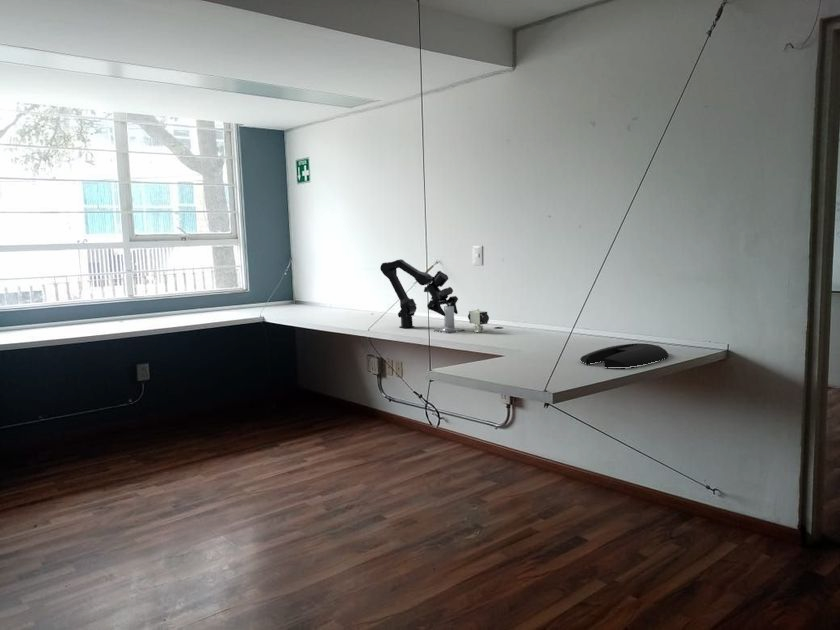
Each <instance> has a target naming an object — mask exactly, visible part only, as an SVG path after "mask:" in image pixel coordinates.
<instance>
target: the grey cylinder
mask: <svg viewBox="0 0 840 630" xmlns="http://www.w3.org/2000/svg"><path fill="white" fill-rule="evenodd" d="M443 311H444V313H445V316H443V318H444V320H443V321H444V326H443V328H444V330H454V329H455V328H456V326H455V313H454V306H447V305H444V306H443Z"/></svg>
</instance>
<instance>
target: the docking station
mask: <svg viewBox="0 0 840 630" xmlns="http://www.w3.org/2000/svg"><path fill="white" fill-rule="evenodd" d="M667 357H668V358H669V352H668V351H667V350H666V349H665V348H663V347H662V346H660V345H657V344H656V345H655V344H653V343H642V342H641V343H640V342H639V343H638V342H637V343H626V344H619V345H613V346H609V347H608V346H607V347H605V348H601V349H598V350H594V351H592V352H589V353H586V354H584V355H582V356H581V357H580V358H579V361H580V360H581V361H582V362H584V363H586V364H590V363H595V362H600V361H604V362H603V364H604V366H603V367H630V366H637V365H643V364H648V363H651V362H655V361H659V360H662V359H664V358H667ZM668 358H667V359H668Z"/></svg>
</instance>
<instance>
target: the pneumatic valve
mask: <svg viewBox="0 0 840 630" xmlns="http://www.w3.org/2000/svg"><path fill="white" fill-rule="evenodd" d="M467 318H468V321H469V324H474V326H473V331H474V333H476V332H480V333H484V325H488V322H489V320H490V316H489V315H488V311H485V310H480V309H479V308H477V310H476V309H475V310H469V312H468V316H467Z"/></svg>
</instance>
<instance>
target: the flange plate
mask: <svg viewBox="0 0 840 630" xmlns="http://www.w3.org/2000/svg"><path fill="white" fill-rule="evenodd" d="M433 330H434V331H433V332H435V331H440V332H439V333H442V332H446V333H445V334H451V333H450V332H453V333H457V332H456V331H459V332H463V331H462V330H465V331H466V329H465V328H460V327H455V329H454V330H444V327H442V328H441V327H440V328H436V329H435V328H434V329H433Z"/></svg>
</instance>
